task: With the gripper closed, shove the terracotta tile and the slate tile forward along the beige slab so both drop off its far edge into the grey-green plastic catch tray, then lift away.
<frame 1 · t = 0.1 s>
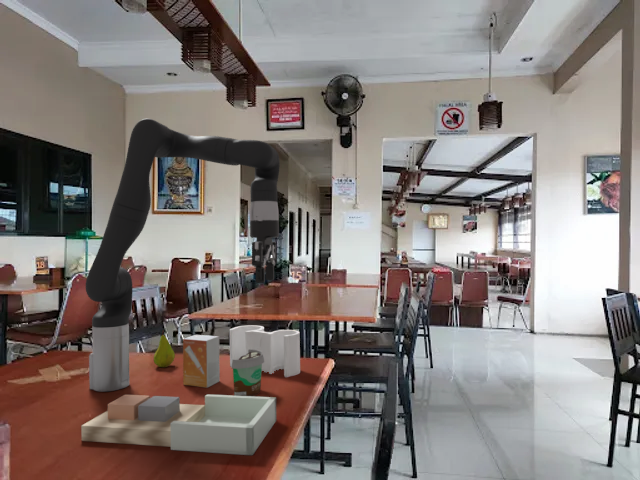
hand: (265, 281, 115), 29 cm above the table, fingers open, 8 cm apart
catch tray: (227, 433, 90), on the table
small box: (201, 384, 124), on the table
tile b: (159, 415, 93), point 3 cm above the table, touching beige slab
fruit: (164, 367, 143), on the table
beige slab: (146, 429, 94), on the table
tile a: (129, 413, 94), point 3 cm above the table, touching beige slab
food container: (252, 393, 116), on the table
bracket: (266, 369, 139), on the table
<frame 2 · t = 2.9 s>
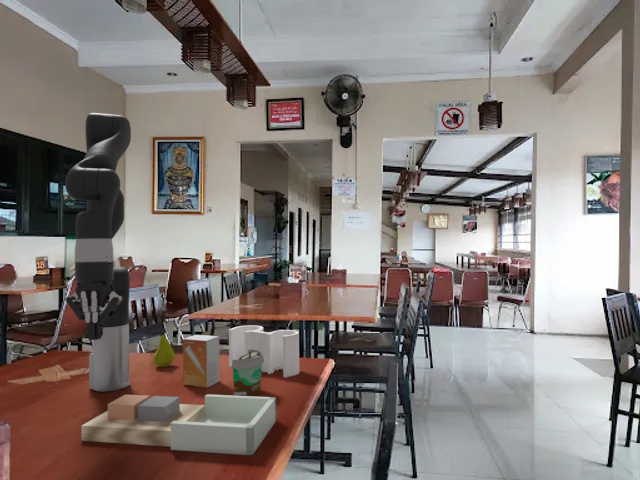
hand: (95, 339, 96), 19 cm above the table, fingers closed
nothing on the table moved.
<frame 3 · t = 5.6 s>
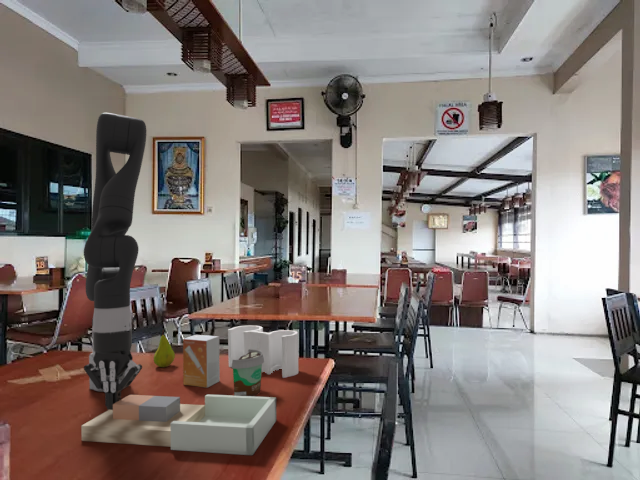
hand: (113, 408, 95), 4 cm above the table, fingers closed
tile b: (160, 415, 93), point 3 cm above the table, touching tile a
tile a: (134, 414, 94), point 3 cm above the table, touching gripper, tile b
everything else where it was.
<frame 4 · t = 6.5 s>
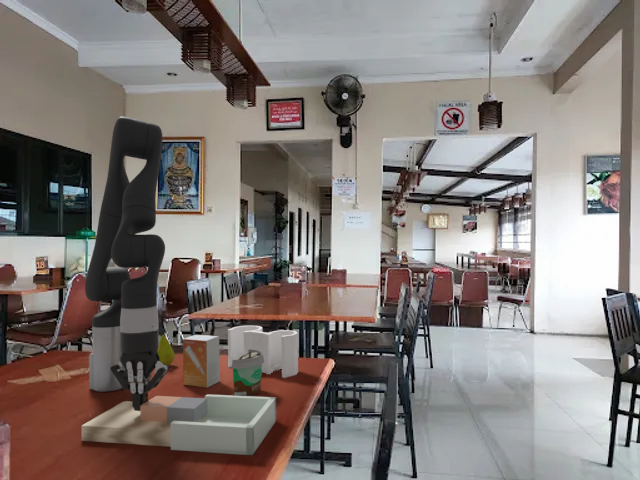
hand: (140, 409, 94), 4 cm above the table, fingers closed
tile b: (187, 417, 92), point 3 cm above the table, touching tile a
tile a: (161, 415, 93), point 3 cm above the table, touching beige slab, gripper, tile b
everything else where it was.
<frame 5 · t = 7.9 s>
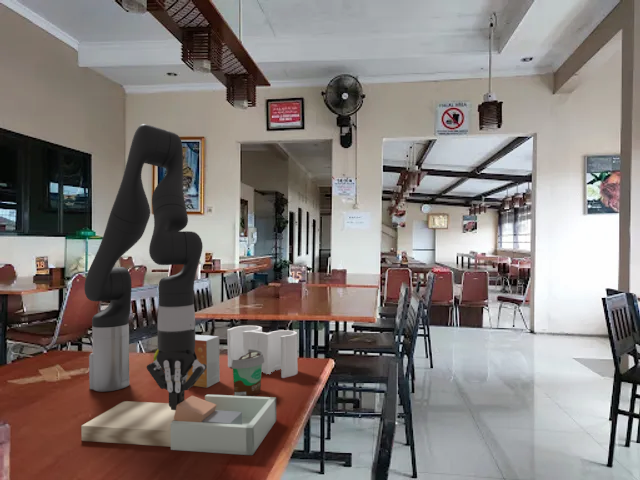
hand: (176, 408, 92), 5 cm above the table, fingers closed
tile b: (222, 431, 90), point 1 cm above the table, touching catch tray
tile a: (193, 418, 92), point 3 cm above the table, tilted 16°, touching beige slab, gripper
everything else where it was.
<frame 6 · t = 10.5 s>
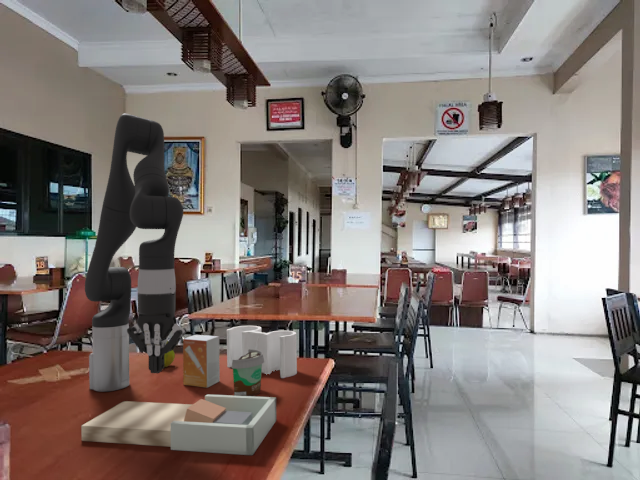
hand: (156, 372, 93), 12 cm above the table, fingers closed
tile b: (233, 431, 90), point 1 cm above the table, touching catch tray, tile a
tile a: (203, 422, 91), point 2 cm above the table, tilted 16°, touching beige slab, tile b
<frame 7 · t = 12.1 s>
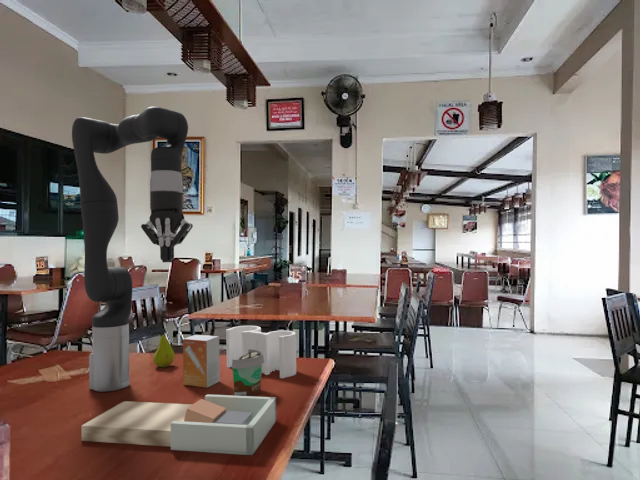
hand: (167, 262, 107), 35 cm above the table, fingers closed
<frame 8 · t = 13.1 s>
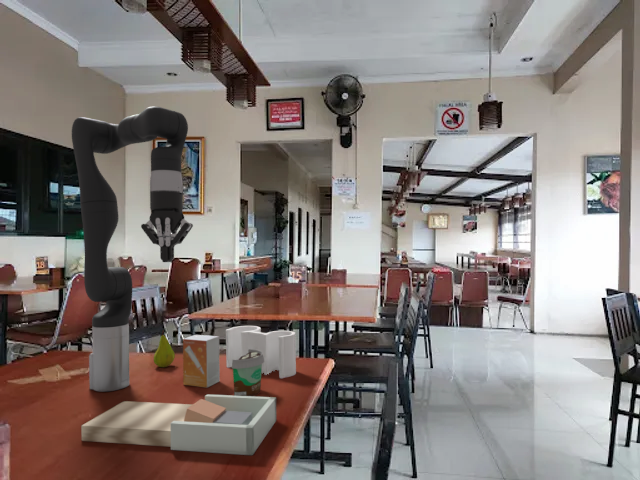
hand: (167, 261, 107), 35 cm above the table, fingers closed
at the end: tile a inside the target area (5.0 cm from its centre), point 2.2 cm above the table; tile b inside the target area (1.5 cm from its centre), point 0.6 cm above the table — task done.
